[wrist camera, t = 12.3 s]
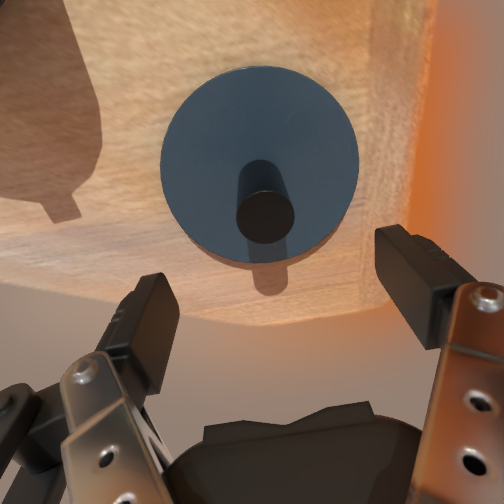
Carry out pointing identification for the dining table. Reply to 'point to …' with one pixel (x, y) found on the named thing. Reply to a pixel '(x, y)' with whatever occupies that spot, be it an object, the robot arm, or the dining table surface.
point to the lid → (259, 164)
